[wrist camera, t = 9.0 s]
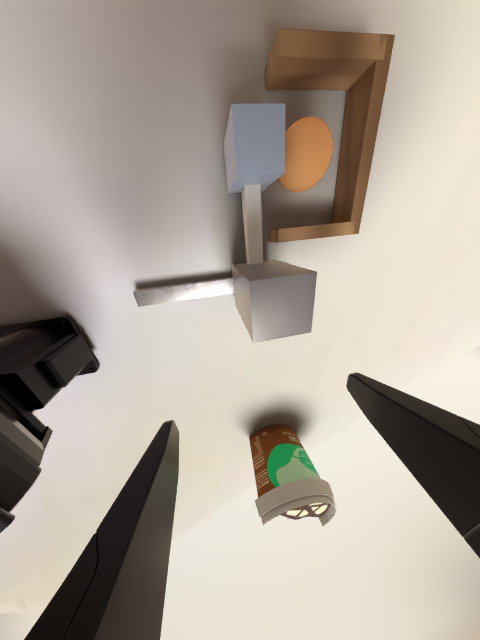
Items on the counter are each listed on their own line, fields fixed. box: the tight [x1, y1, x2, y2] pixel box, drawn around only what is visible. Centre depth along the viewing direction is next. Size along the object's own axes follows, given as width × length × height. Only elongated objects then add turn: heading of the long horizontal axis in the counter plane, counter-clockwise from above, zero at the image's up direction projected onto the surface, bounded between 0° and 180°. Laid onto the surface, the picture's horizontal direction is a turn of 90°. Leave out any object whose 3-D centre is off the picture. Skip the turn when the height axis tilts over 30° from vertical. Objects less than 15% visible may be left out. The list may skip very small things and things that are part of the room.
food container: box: [249, 424, 336, 526], centre depth 26 cm, size 12×6×10 cm, turn 54°
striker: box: [223, 103, 317, 343], centre depth 12 cm, size 4×12×8 cm, turn 5°
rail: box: [133, 276, 234, 307], centre depth 17 cm, size 15×1×1 cm, turn 95°
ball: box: [278, 117, 333, 192], centre depth 13 cm, size 4×4×4 cm
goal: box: [265, 29, 395, 242], centre depth 14 cm, size 8×11×2 cm
